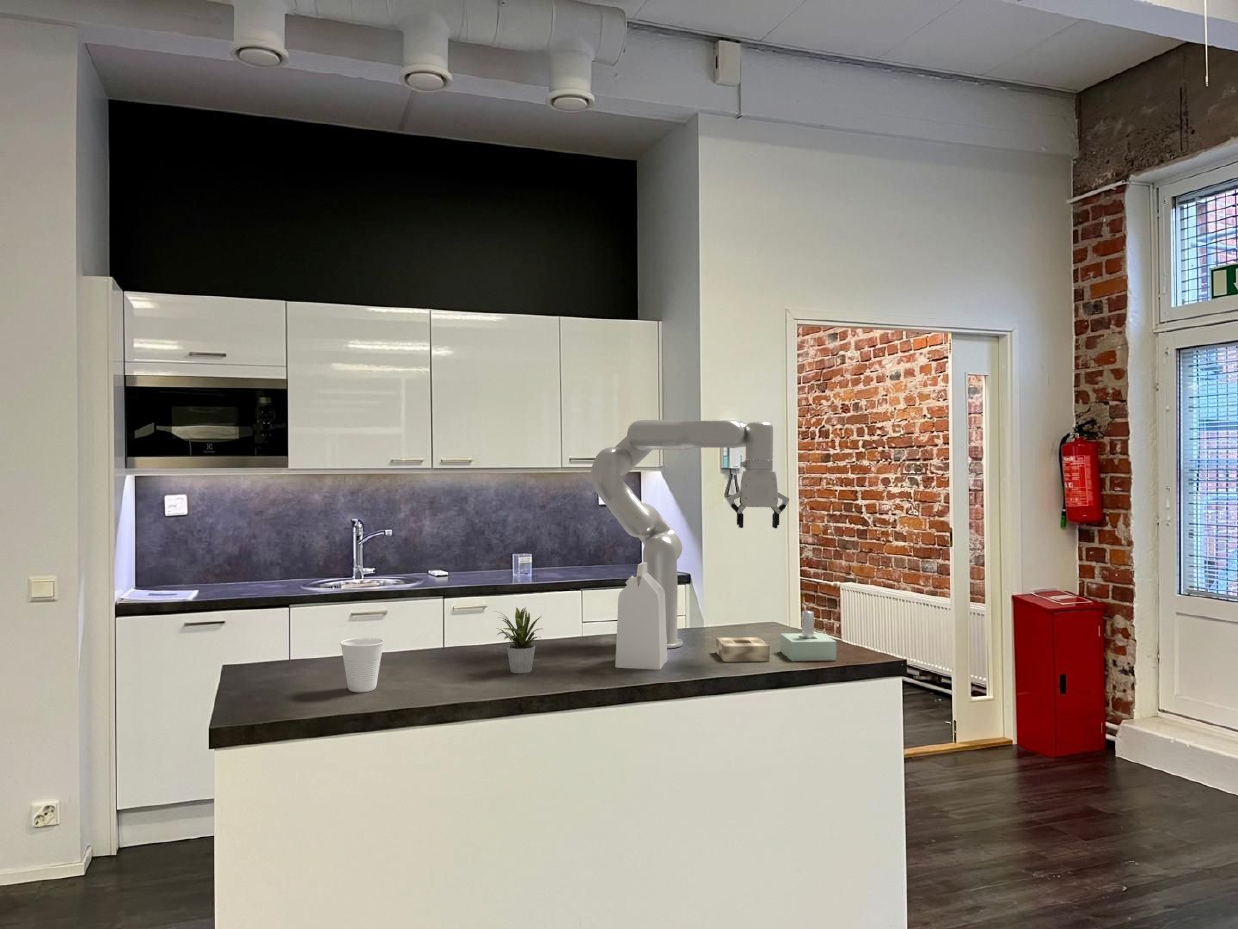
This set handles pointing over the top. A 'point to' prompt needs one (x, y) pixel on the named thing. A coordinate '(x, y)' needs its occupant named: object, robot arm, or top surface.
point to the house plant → (520, 643)
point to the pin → (807, 625)
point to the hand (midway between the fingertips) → (757, 527)
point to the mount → (742, 649)
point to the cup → (362, 662)
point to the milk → (641, 623)
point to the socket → (807, 647)
